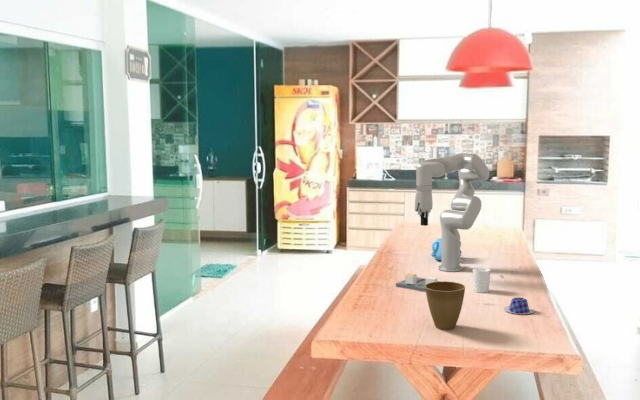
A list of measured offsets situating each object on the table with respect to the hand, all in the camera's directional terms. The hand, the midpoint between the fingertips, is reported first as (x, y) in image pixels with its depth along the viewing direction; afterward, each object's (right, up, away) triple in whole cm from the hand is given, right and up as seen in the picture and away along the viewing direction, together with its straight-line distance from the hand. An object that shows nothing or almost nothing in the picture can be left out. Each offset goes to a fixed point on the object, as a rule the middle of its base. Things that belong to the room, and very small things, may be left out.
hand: (424, 225), depth 314 cm
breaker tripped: (-9, -27, -15) cm, 32 cm away
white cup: (+22, -30, -23) cm, 44 cm away
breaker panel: (-1, -29, -15) cm, 32 cm away
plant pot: (-4, -36, -73) cm, 81 cm away
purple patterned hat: (+30, -34, -54) cm, 70 cm away
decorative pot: (+19, -22, +43) cm, 52 cm away
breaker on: (0, -28, -22) cm, 35 cm away
